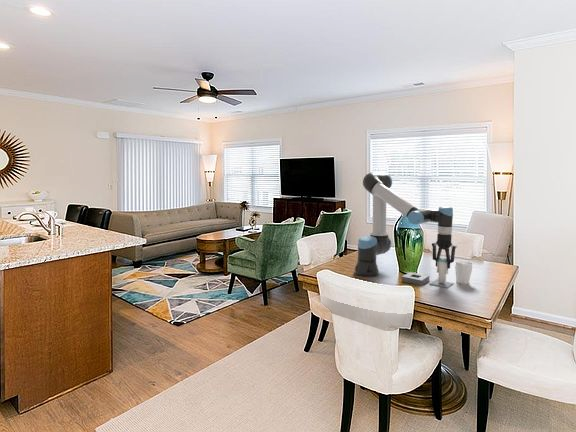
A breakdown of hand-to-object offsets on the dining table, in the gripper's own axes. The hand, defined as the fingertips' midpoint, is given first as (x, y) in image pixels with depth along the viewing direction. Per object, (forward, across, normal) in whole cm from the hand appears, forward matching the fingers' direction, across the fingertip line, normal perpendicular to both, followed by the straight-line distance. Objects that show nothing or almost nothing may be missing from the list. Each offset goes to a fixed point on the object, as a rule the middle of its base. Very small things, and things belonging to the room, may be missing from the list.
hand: (442, 272), depth 211 cm
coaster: (+7, 0, 0) cm, 7 cm away
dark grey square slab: (+7, -14, -4) cm, 16 cm away
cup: (+7, +8, +12) cm, 16 cm away
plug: (+6, 0, 0) cm, 6 cm away
